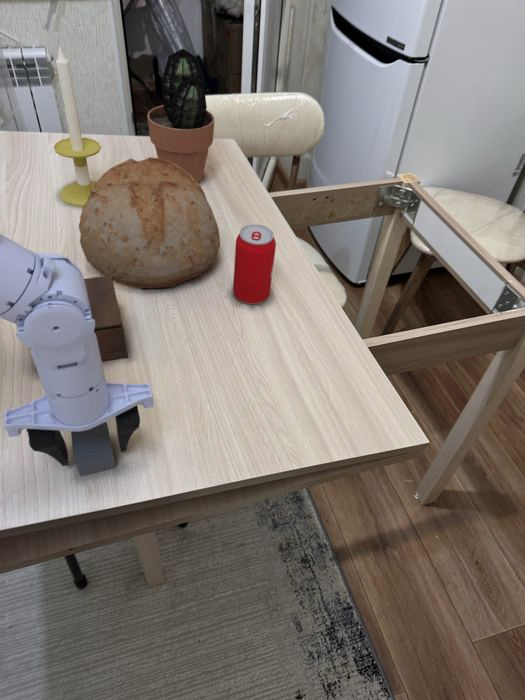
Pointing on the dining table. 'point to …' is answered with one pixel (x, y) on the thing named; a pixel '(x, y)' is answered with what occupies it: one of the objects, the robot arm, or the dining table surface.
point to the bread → (148, 225)
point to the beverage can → (253, 264)
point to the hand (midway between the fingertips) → (94, 451)
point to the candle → (74, 140)
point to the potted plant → (183, 116)
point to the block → (93, 450)
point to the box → (106, 318)
